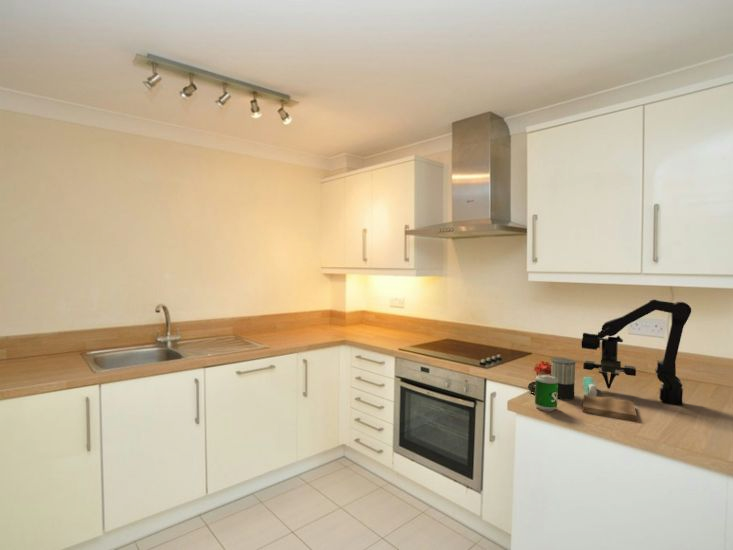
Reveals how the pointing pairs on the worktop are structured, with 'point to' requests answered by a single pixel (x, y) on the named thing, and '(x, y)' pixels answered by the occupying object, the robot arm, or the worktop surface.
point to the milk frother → (562, 377)
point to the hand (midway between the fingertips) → (608, 388)
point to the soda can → (546, 392)
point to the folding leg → (589, 386)
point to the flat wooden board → (609, 407)
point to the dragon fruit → (542, 368)
